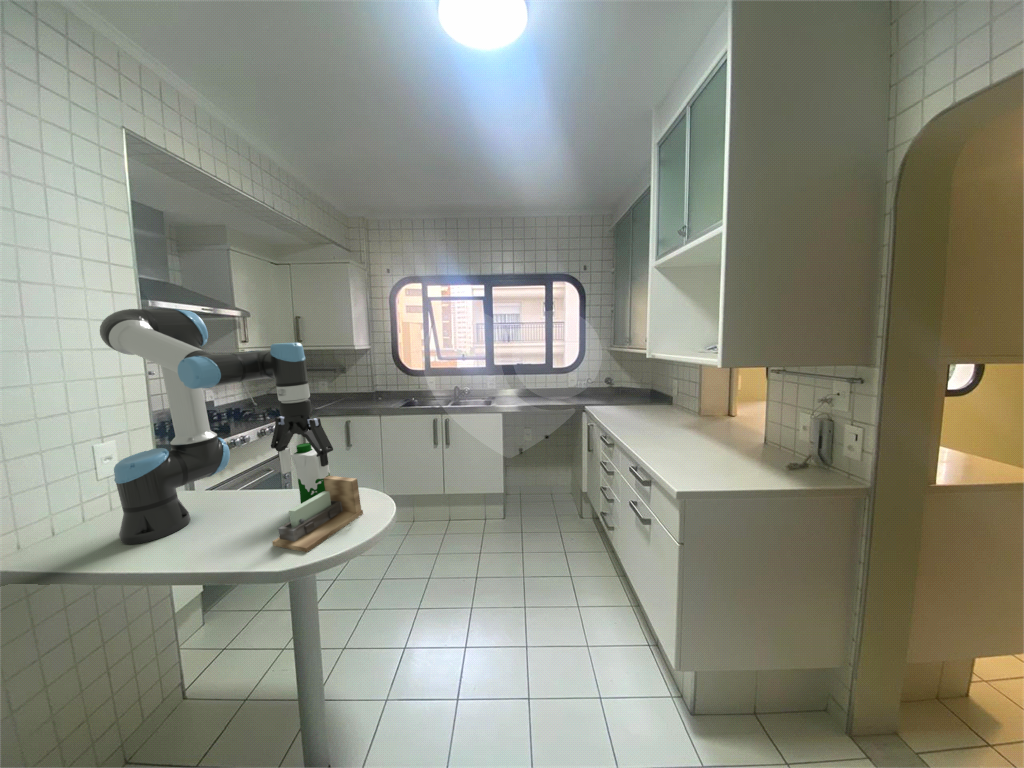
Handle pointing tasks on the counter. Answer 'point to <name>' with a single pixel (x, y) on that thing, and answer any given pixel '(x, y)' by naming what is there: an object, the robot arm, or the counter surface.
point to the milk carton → (307, 472)
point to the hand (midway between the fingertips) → (305, 474)
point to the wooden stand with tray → (324, 517)
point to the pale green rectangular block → (309, 508)
